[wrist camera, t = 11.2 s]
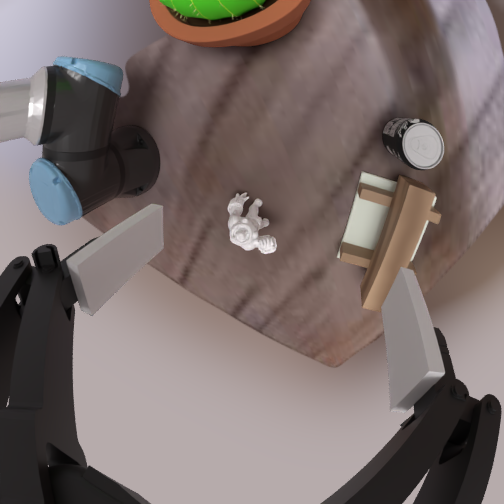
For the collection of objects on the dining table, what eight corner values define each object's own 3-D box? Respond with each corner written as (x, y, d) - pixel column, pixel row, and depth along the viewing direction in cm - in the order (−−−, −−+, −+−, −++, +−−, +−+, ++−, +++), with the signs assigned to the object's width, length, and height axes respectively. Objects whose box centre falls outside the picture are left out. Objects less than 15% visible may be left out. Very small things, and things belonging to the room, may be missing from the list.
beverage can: (417, 160, 36) (443, 177, 26) (380, 154, 38) (396, 167, 28) (420, 122, 33) (449, 125, 23) (382, 114, 35) (401, 114, 25)
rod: (360, 285, 44) (362, 307, 39) (399, 174, 34) (409, 184, 29) (380, 291, 44) (384, 313, 39) (422, 182, 33) (435, 194, 28)
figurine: (291, 216, 47) (278, 247, 37) (278, 238, 50) (262, 273, 40) (240, 187, 47) (213, 210, 37) (229, 210, 50) (202, 238, 40)
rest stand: (337, 254, 48) (336, 269, 44) (361, 170, 40) (365, 177, 36) (403, 273, 46) (409, 288, 42) (434, 195, 38) (445, 205, 33)
